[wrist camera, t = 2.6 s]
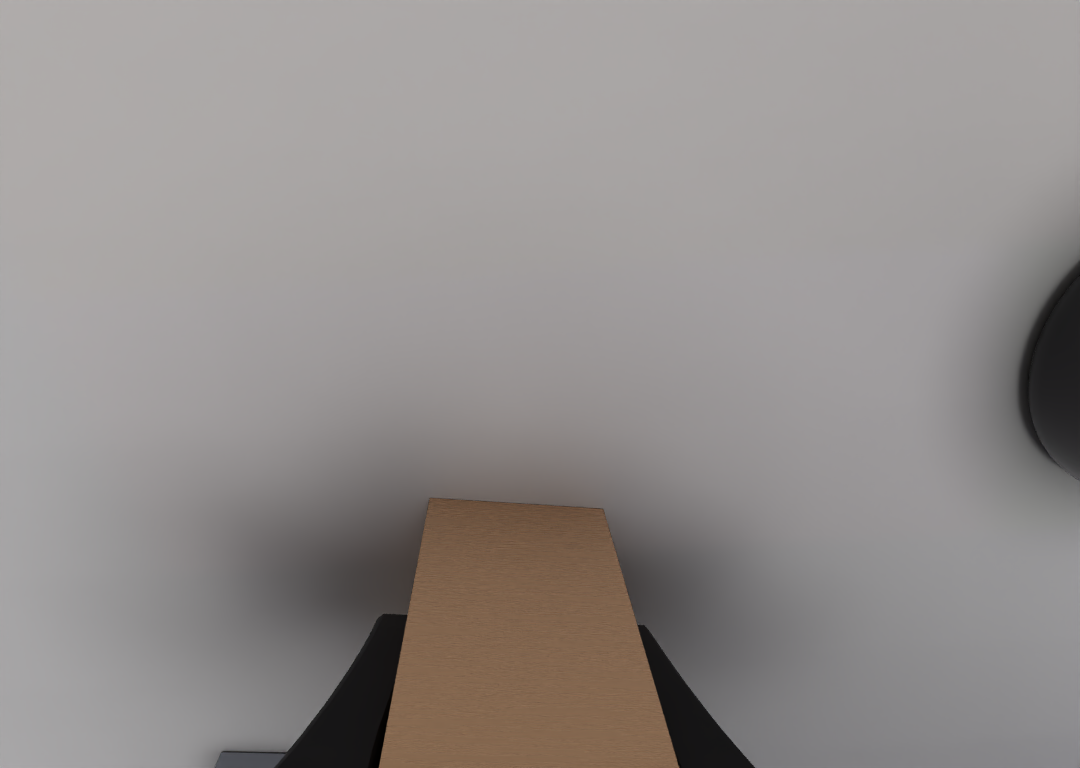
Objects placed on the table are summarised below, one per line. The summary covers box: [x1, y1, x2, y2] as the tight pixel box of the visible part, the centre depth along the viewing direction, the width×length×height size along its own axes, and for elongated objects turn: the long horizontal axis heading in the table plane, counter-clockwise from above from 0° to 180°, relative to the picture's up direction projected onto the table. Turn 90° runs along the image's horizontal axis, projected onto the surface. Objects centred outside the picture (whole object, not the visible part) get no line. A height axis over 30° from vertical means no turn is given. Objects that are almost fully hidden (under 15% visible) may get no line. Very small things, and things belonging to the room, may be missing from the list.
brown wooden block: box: [379, 498, 679, 768], centre depth 12 cm, size 4×4×7 cm
